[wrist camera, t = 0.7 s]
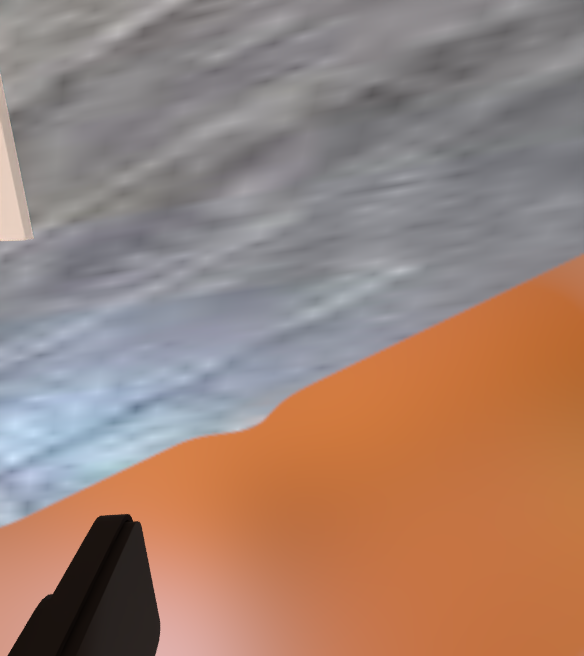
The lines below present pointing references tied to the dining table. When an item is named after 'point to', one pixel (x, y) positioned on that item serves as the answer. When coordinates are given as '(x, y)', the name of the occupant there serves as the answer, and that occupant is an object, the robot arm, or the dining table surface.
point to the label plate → (11, 183)
